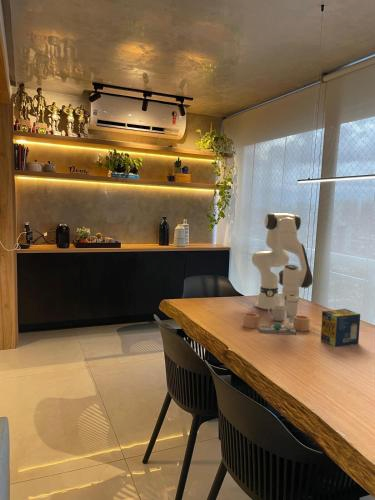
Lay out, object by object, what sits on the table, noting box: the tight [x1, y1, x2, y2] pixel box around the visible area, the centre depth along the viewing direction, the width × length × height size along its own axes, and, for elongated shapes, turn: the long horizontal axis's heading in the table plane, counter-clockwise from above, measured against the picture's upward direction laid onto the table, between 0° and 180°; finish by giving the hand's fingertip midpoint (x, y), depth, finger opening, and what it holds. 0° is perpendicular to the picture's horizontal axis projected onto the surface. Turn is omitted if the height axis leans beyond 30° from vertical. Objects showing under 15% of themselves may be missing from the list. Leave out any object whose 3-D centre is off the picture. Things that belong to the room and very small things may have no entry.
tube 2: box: [292, 314, 311, 332], centre depth 209 cm, size 9×9×7 cm
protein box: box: [320, 308, 361, 348], centre depth 188 cm, size 10×15×16 cm
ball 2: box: [284, 322, 293, 330], centre depth 203 cm, size 4×4×4 cm
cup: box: [267, 305, 286, 322], centre depth 226 cm, size 11×8×8 cm
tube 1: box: [242, 312, 260, 329], centre depth 213 cm, size 9×9×7 cm
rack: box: [258, 325, 297, 335], centre depth 204 cm, size 19×8×2 cm, turn 83°
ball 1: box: [273, 321, 282, 330], centre depth 204 cm, size 4×4×4 cm
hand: (289, 320), depth 202 cm, fingers open, 8 cm apart
